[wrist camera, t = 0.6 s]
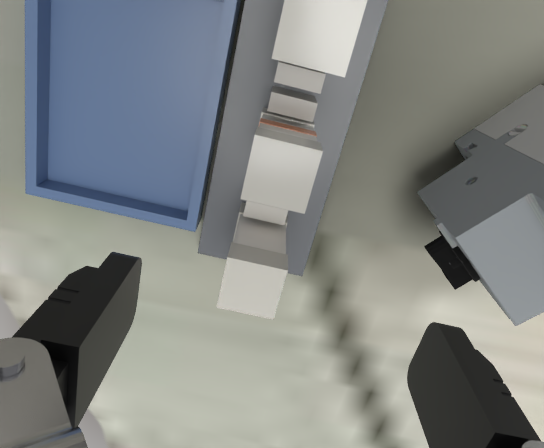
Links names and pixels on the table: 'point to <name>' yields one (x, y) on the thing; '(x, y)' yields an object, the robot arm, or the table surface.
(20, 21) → the table surface
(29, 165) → the tray
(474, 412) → the robot arm
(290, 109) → the fuse holder
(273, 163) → the block
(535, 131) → the circuit breaker
